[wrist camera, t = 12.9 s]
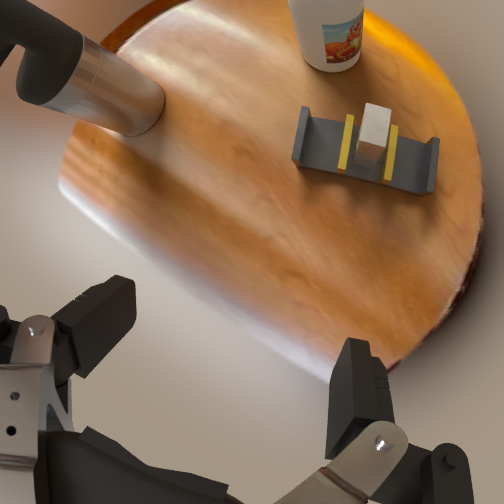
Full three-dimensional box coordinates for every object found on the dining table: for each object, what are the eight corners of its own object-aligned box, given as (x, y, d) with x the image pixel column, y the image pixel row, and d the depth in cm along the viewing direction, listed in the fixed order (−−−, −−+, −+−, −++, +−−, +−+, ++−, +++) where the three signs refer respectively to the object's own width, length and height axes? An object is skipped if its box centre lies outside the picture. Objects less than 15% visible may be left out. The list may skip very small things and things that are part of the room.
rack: (305, 119, 33) (301, 106, 29) (428, 148, 30) (439, 138, 25) (296, 166, 34) (291, 158, 30) (421, 196, 30) (433, 192, 26)
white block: (358, 134, 30) (366, 102, 21) (376, 139, 30) (391, 109, 21) (352, 163, 31) (359, 140, 22) (371, 168, 30) (385, 147, 21)
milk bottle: (304, 76, 33) (270, -37, 13) (297, 31, 32) (263, -78, 13) (365, 73, 31) (377, -41, 11) (354, 28, 30) (352, -83, 11)
